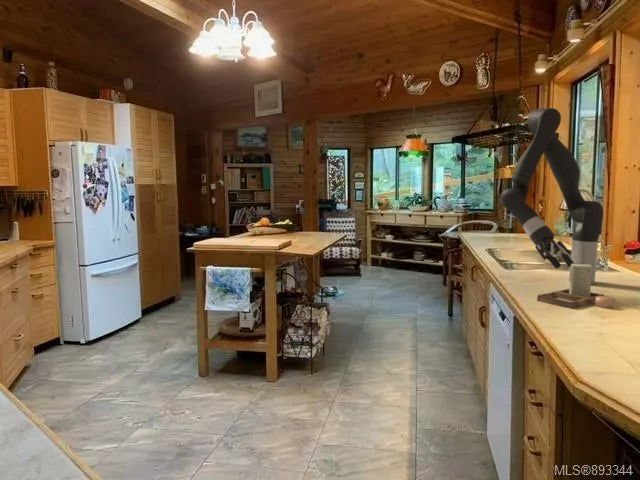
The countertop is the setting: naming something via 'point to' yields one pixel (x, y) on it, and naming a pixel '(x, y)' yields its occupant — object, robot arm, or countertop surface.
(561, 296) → the walnut organizer
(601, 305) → the pinkish brown rounded piece
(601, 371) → the countertop surface
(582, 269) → the skincare box
